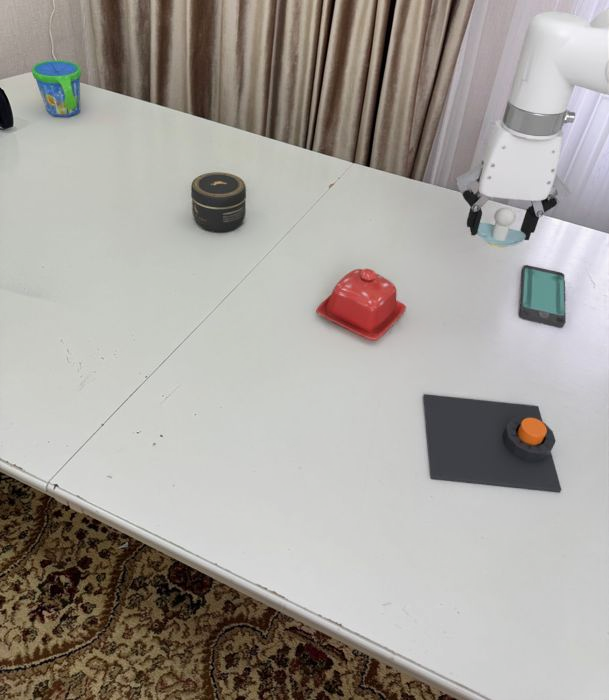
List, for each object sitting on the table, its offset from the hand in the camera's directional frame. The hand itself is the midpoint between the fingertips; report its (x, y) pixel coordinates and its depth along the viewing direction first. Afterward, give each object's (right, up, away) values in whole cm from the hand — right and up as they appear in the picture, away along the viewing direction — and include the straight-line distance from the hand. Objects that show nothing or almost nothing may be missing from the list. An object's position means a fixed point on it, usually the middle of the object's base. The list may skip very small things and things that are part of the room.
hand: (498, 232), depth 95 cm
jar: (-46, +6, +23) cm, 52 cm away
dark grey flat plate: (-6, -30, -13) cm, 33 cm away
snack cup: (-87, +39, +55) cm, 110 cm away
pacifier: (0, -1, +1) cm, 2 cm away
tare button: (0, -29, -14) cm, 32 cm away
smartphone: (+11, -9, +12) cm, 19 cm away
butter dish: (-21, -12, +5) cm, 25 cm away
